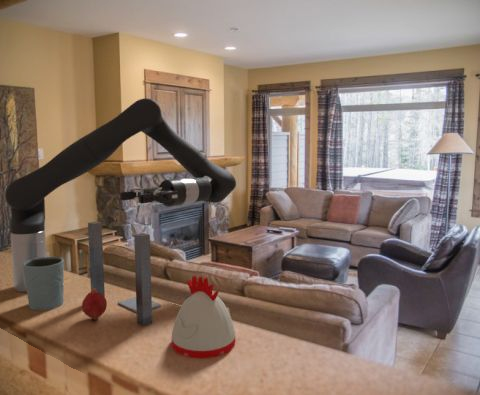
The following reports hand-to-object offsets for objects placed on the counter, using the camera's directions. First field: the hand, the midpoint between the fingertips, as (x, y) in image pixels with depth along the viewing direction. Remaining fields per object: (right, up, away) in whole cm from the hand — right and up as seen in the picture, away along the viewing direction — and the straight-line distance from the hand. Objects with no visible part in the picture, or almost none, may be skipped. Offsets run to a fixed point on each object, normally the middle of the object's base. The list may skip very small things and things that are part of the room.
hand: (129, 197), depth 114 cm
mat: (+1, -29, +5) cm, 29 cm away
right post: (+5, -31, -7) cm, 32 cm away
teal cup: (-24, -29, +6) cm, 38 cm away
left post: (-11, -29, +8) cm, 32 cm away
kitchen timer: (+20, -32, -17) cm, 41 cm away
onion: (-8, -30, -4) cm, 32 cm away
